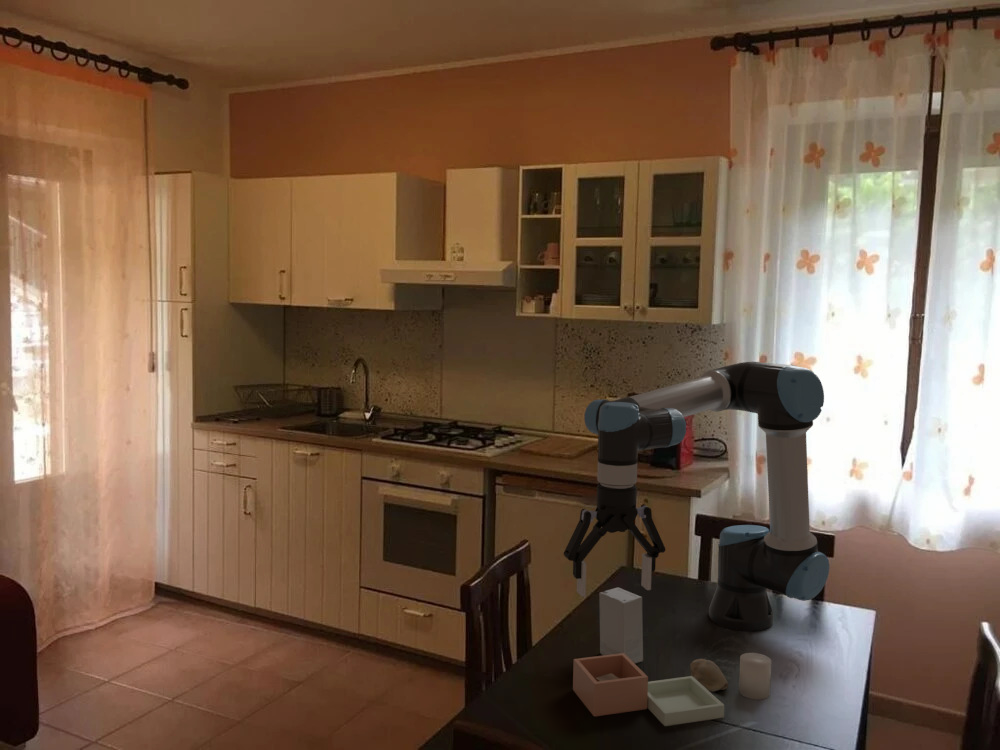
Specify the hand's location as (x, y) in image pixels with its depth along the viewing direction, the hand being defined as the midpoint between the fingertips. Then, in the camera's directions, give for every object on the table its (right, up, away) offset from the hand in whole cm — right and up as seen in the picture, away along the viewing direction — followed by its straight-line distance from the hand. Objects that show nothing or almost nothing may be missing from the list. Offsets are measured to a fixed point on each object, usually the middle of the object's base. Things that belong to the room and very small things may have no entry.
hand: (613, 591), depth 167 cm
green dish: (+13, -23, 0) cm, 26 cm away
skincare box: (+4, -21, +22) cm, 30 cm away
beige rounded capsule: (+29, -22, +7) cm, 38 cm away
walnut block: (-1, -22, +3) cm, 22 cm away
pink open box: (-1, -22, +3) cm, 23 cm away
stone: (+20, -22, +10) cm, 32 cm away
